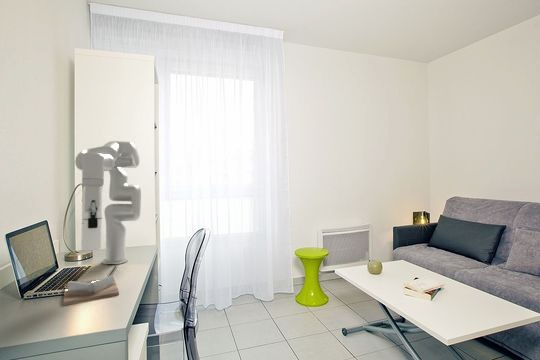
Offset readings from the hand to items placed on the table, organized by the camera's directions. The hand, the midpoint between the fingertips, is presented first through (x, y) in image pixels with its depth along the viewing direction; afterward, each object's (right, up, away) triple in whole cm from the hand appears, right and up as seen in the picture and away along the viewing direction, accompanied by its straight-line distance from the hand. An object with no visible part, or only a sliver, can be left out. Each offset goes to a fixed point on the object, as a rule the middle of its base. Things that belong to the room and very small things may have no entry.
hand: (92, 226), depth 118 cm
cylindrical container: (0, -10, 0) cm, 10 cm away
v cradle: (-1, -27, 0) cm, 27 cm away
